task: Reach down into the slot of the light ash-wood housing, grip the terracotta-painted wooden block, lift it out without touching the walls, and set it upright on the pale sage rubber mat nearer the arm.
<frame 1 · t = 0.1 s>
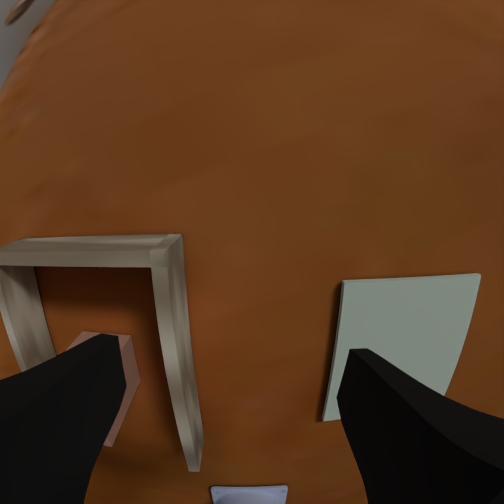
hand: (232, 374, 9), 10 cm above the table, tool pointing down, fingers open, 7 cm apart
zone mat: (405, 350, 20), on the table
slot housing: (111, 357, 20), on the table
terracotta block: (93, 384, 16), in the slot housing
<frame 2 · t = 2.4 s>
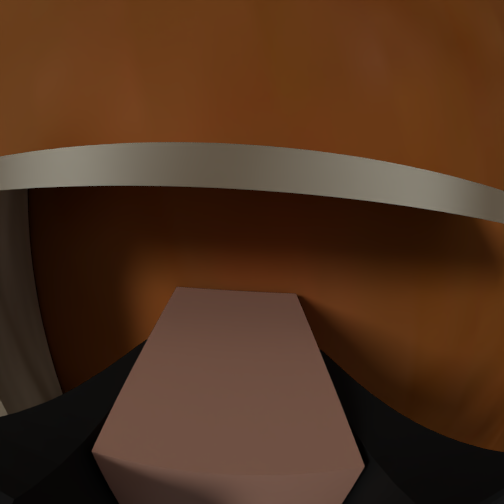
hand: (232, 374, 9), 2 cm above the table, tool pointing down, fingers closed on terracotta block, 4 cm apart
slot housing: (233, 342, 11), on the table
terracotta block: (230, 408, 7), in the slot housing, touching gripper
when the fingers open (4 cm above the table, at t = 7.0 s): terracotta block stays where it is, resting on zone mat.
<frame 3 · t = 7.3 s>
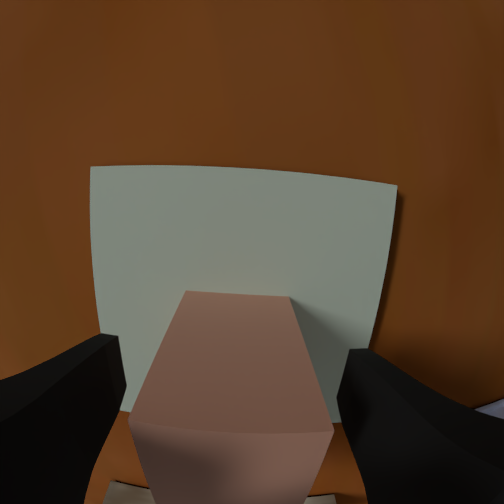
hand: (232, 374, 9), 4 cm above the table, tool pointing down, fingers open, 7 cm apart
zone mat: (235, 317, 12), on the table
terracotta block: (232, 393, 9), on the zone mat
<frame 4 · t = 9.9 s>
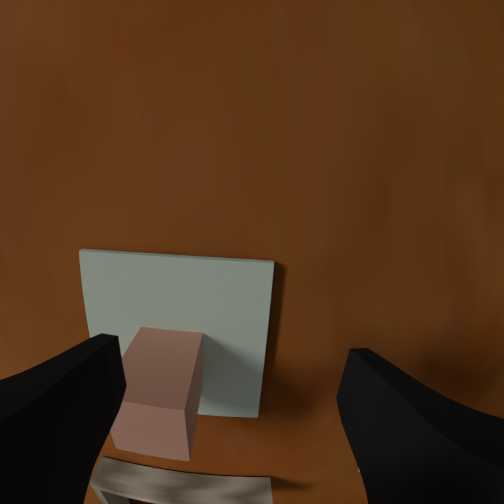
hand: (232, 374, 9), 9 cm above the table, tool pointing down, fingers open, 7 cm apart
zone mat: (173, 343, 19), on the table
slot housing: (191, 499, 24), on the table
terracotta block: (160, 389, 15), on the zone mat
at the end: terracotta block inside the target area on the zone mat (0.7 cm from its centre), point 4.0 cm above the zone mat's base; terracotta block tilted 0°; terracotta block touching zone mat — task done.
